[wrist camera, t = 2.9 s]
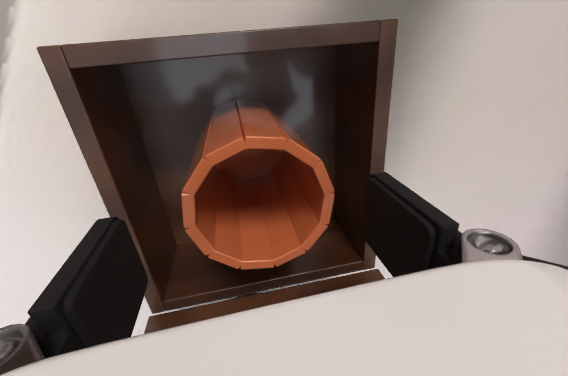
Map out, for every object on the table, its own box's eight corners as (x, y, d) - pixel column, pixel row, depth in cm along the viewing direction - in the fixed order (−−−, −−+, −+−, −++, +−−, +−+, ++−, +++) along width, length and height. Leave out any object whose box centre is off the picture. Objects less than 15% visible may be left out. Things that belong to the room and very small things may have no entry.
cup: (265, 82, 19) (300, 107, 10) (300, 159, 22) (351, 230, 13) (183, 124, 19) (146, 185, 10) (229, 195, 22) (232, 289, 13)
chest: (102, 49, 17) (35, 46, 11) (343, 30, 19) (398, 18, 13) (170, 248, 24) (152, 314, 18) (340, 218, 26) (374, 268, 20)
